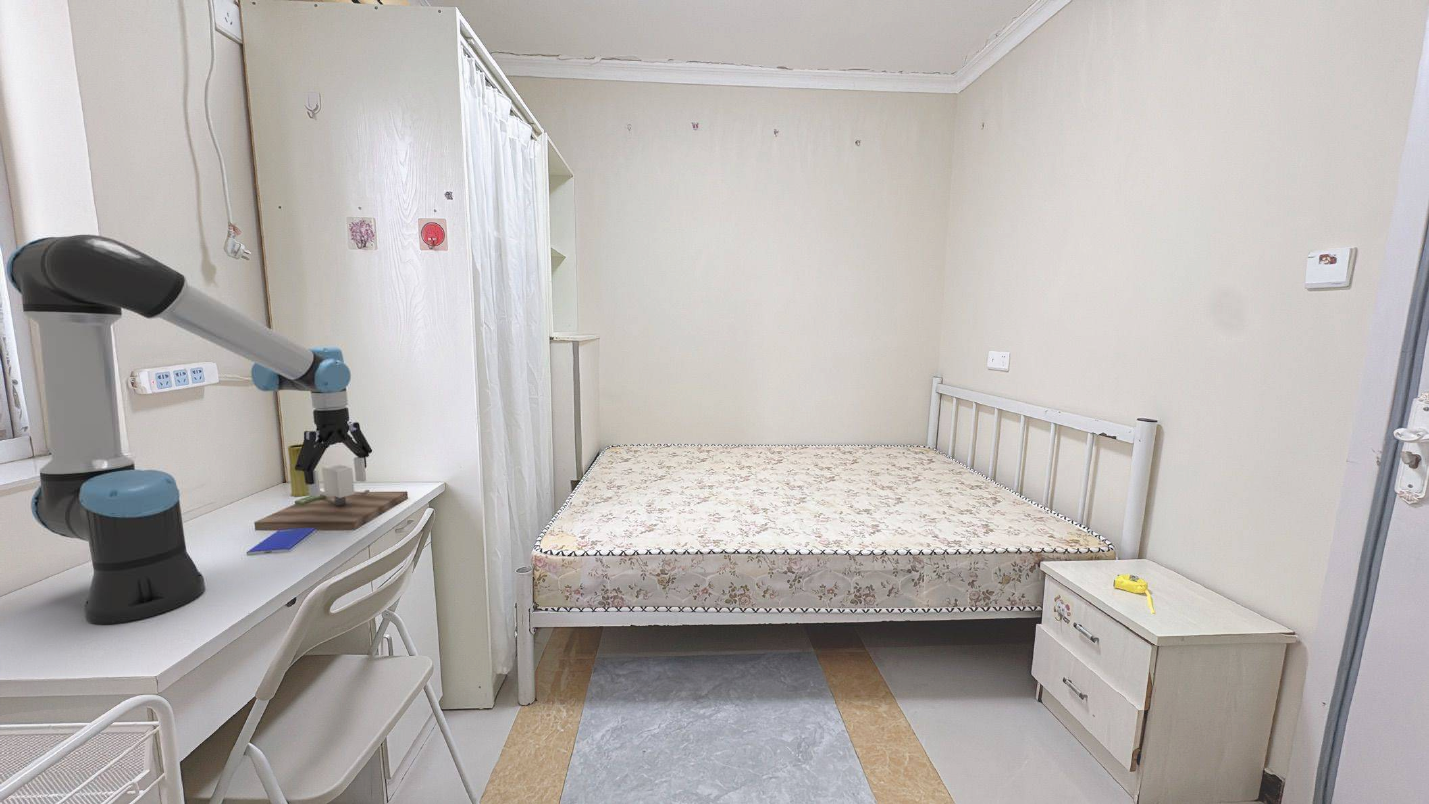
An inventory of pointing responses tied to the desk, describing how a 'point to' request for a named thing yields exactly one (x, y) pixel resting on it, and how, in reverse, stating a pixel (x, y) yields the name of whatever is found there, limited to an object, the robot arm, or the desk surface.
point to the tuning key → (337, 483)
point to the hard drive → (282, 541)
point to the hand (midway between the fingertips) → (339, 488)
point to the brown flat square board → (332, 512)
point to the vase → (296, 472)
